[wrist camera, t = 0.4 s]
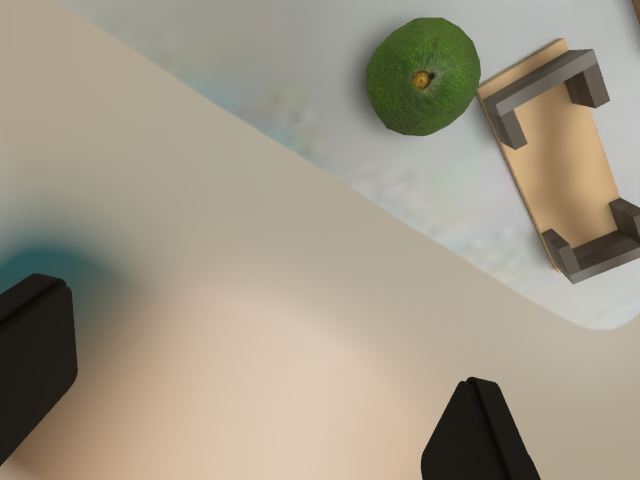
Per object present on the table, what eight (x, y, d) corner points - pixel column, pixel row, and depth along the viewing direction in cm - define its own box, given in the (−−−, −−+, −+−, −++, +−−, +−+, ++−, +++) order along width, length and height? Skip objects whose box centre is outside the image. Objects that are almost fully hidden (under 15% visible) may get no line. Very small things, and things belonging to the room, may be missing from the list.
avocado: (405, 3, 31) (430, -29, 20) (480, 62, 32) (543, 63, 21) (347, 92, 34) (342, 106, 23) (418, 143, 35) (444, 180, 24)
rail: (558, 38, 31) (588, 35, 27) (628, 237, 37) (661, 258, 33) (474, 88, 33) (490, 92, 29) (554, 268, 39) (576, 292, 35)
